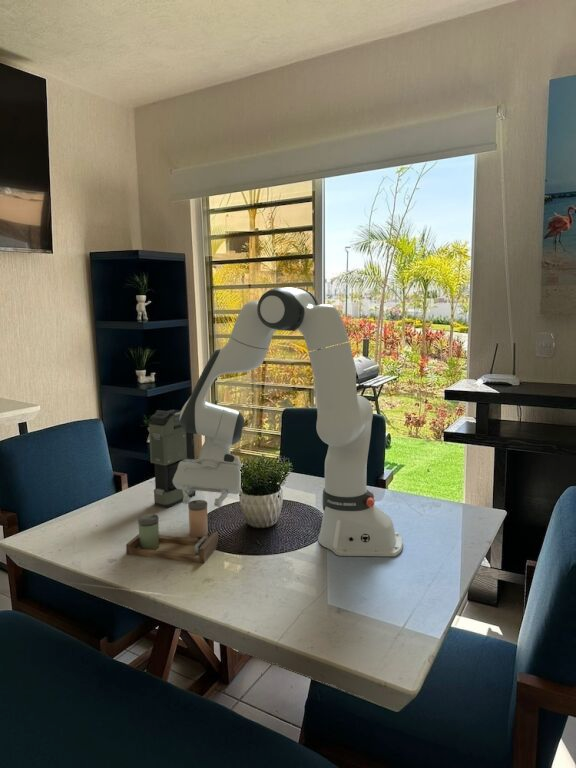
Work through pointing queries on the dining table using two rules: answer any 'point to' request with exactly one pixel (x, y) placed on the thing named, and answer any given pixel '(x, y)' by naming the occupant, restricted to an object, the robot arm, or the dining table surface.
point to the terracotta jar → (198, 518)
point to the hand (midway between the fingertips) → (201, 504)
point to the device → (168, 455)
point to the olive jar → (149, 532)
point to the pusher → (200, 544)
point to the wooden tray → (176, 548)
